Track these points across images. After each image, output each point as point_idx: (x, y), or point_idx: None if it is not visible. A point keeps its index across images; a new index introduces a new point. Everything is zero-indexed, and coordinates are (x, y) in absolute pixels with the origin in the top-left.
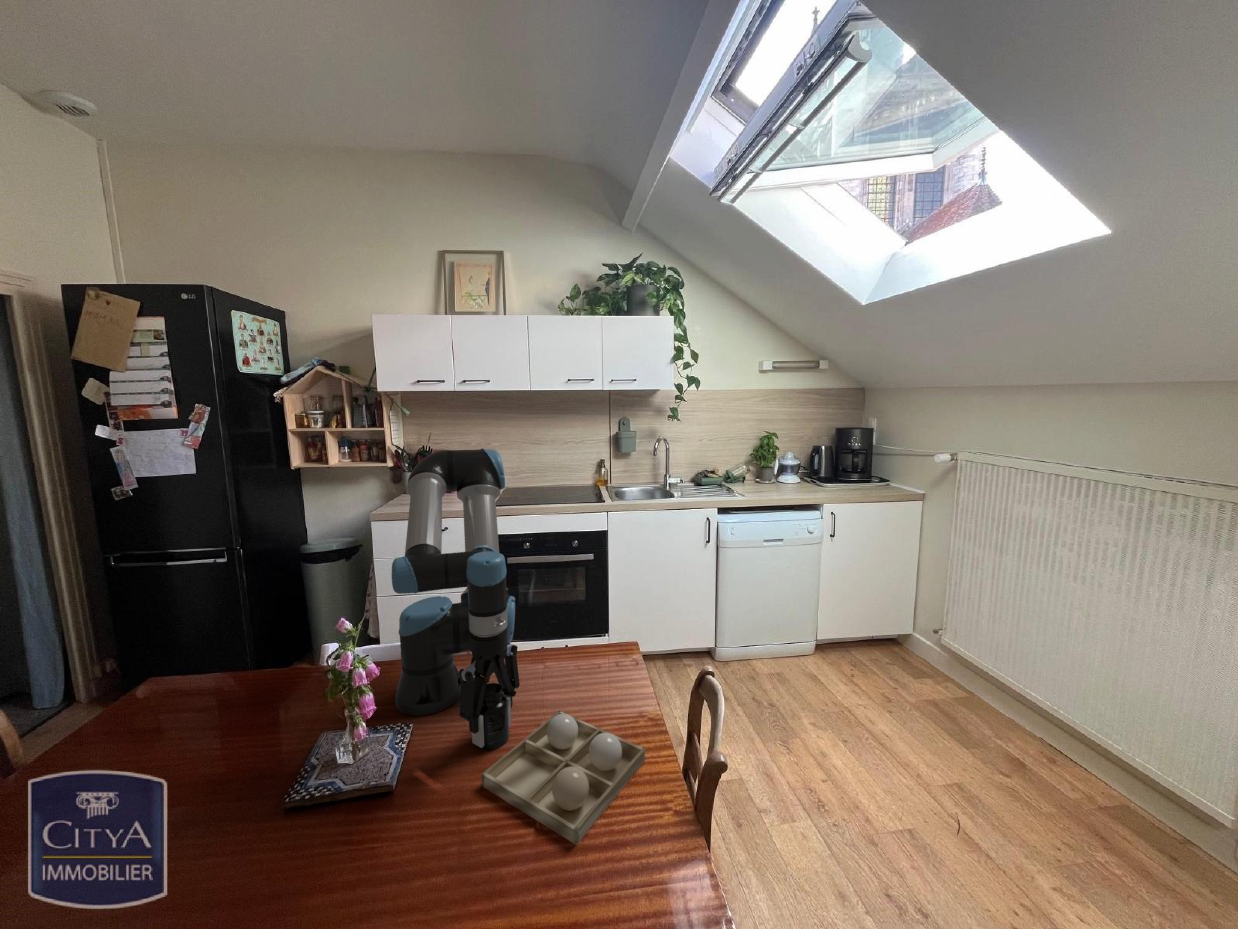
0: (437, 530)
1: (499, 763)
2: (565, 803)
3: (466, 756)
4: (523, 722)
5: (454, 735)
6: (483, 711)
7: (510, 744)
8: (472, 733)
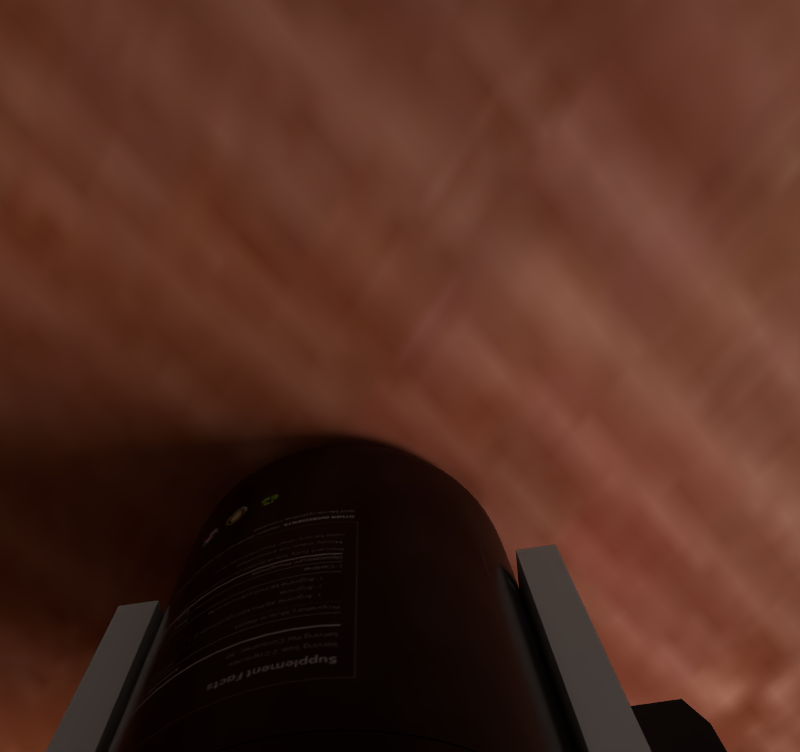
0: None
1: None
2: None
3: (78, 550)
4: (724, 548)
5: (121, 189)
6: None
7: None
8: (80, 697)
